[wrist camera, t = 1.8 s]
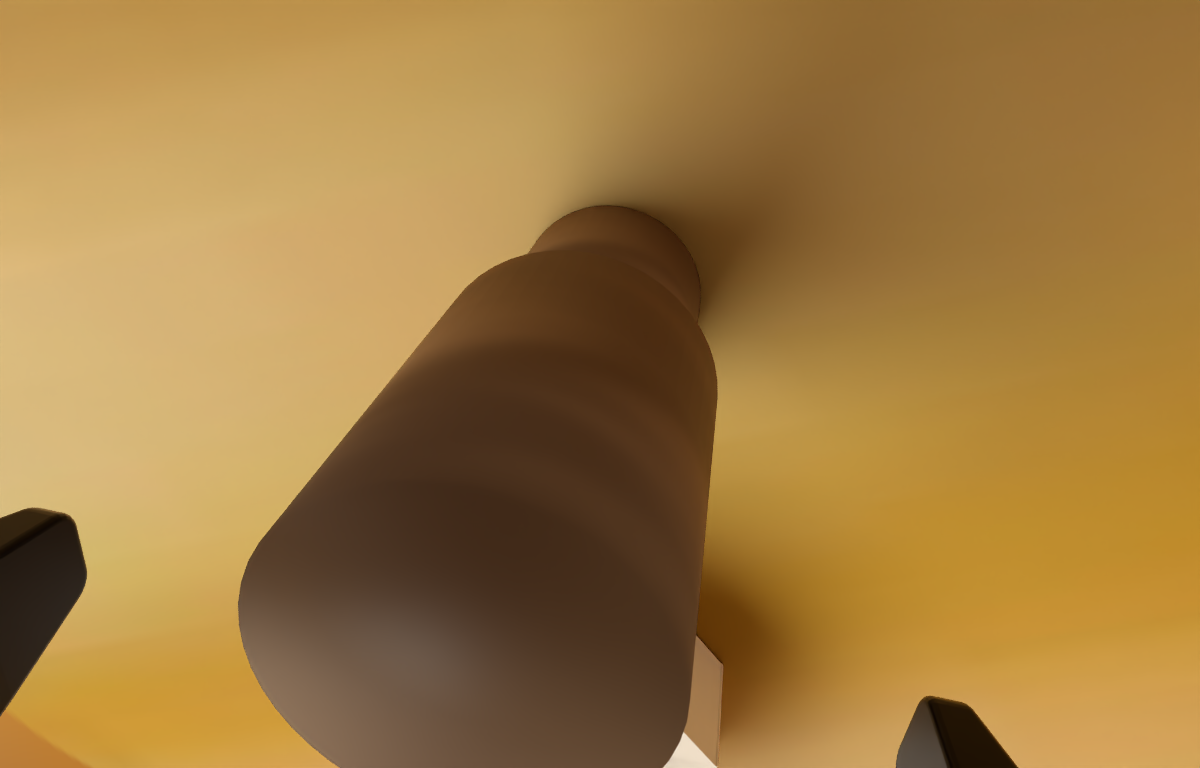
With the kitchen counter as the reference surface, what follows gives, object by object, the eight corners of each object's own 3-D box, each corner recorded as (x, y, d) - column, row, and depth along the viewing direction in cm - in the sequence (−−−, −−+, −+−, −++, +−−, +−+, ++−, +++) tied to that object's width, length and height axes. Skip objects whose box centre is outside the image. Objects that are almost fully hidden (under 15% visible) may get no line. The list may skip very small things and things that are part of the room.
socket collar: (741, 593, 20) (739, 693, 18) (685, 807, 24) (677, 914, 22) (414, 527, 21) (364, 613, 18) (411, 745, 25) (370, 841, 22)
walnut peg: (747, 201, 16) (731, 536, 7) (704, 412, 18) (652, 863, 9) (506, 161, 16) (215, 434, 8) (493, 373, 19) (257, 770, 10)
